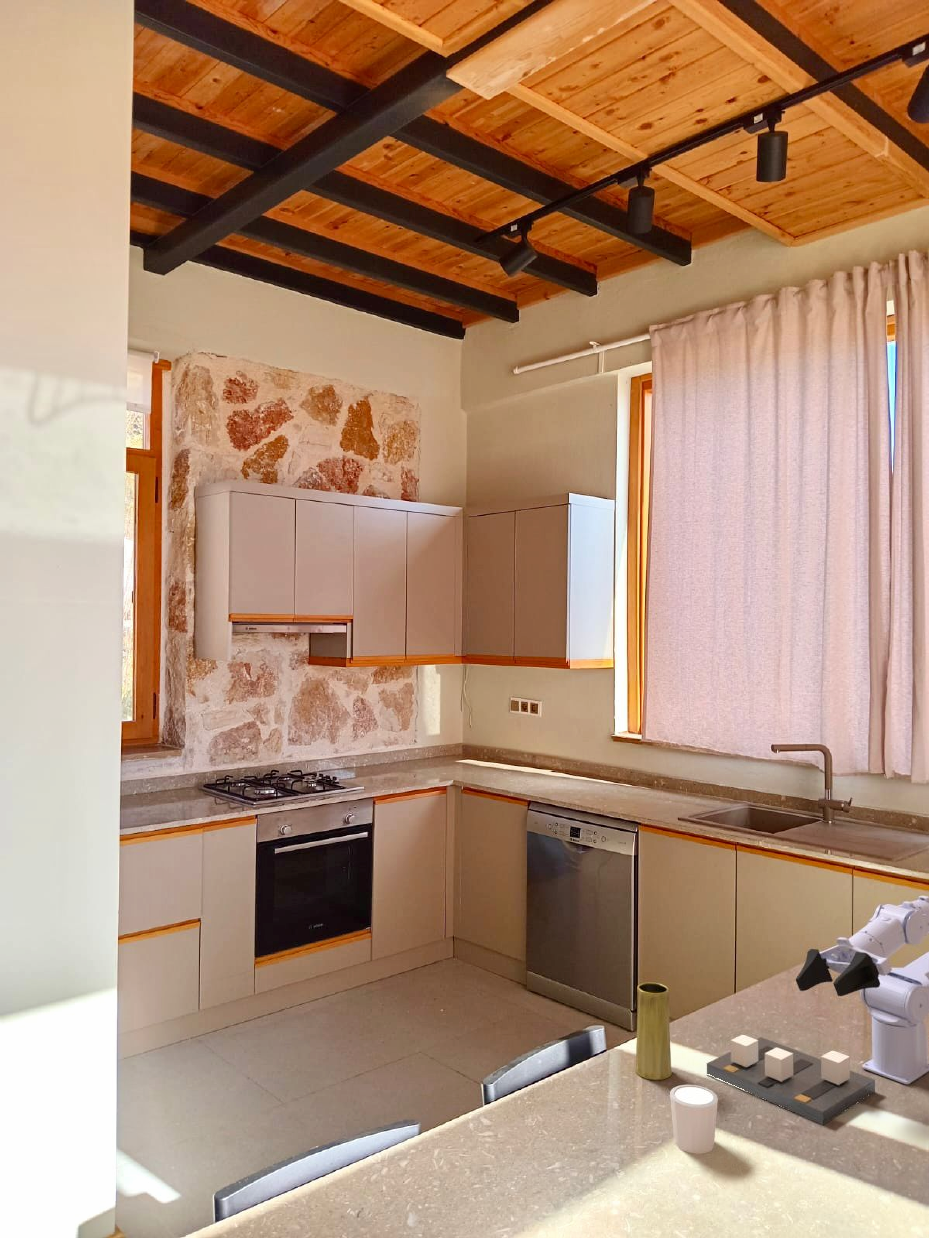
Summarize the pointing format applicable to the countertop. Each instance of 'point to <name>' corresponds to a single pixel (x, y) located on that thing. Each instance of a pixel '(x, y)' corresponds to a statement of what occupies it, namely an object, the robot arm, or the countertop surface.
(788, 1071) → the switch
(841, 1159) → the countertop surface
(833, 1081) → the switch
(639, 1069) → the vase
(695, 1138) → the white cup
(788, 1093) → the console
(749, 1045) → the switch
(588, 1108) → the countertop surface
